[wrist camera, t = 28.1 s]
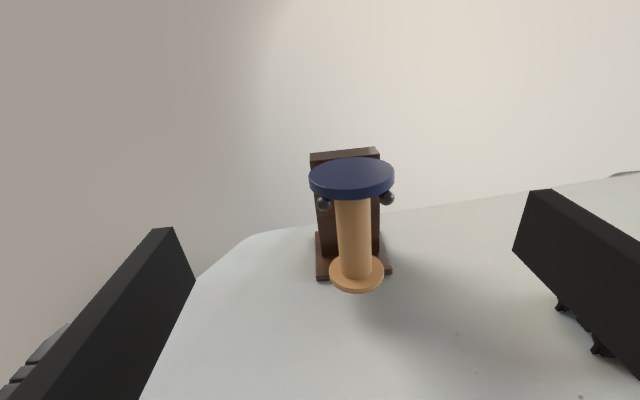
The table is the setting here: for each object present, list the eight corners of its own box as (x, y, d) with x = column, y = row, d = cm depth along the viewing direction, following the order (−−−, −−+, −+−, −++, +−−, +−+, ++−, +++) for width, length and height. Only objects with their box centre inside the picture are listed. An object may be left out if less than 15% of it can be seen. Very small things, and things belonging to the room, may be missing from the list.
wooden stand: (405, 310, 35) (413, 189, 27) (317, 318, 35) (298, 201, 27) (376, 230, 50) (376, 137, 42) (315, 236, 50) (303, 144, 42)
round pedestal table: (308, 287, 35) (292, 183, 28) (339, 245, 42) (331, 154, 35) (379, 310, 31) (378, 195, 24) (400, 260, 37) (404, 159, 31)
